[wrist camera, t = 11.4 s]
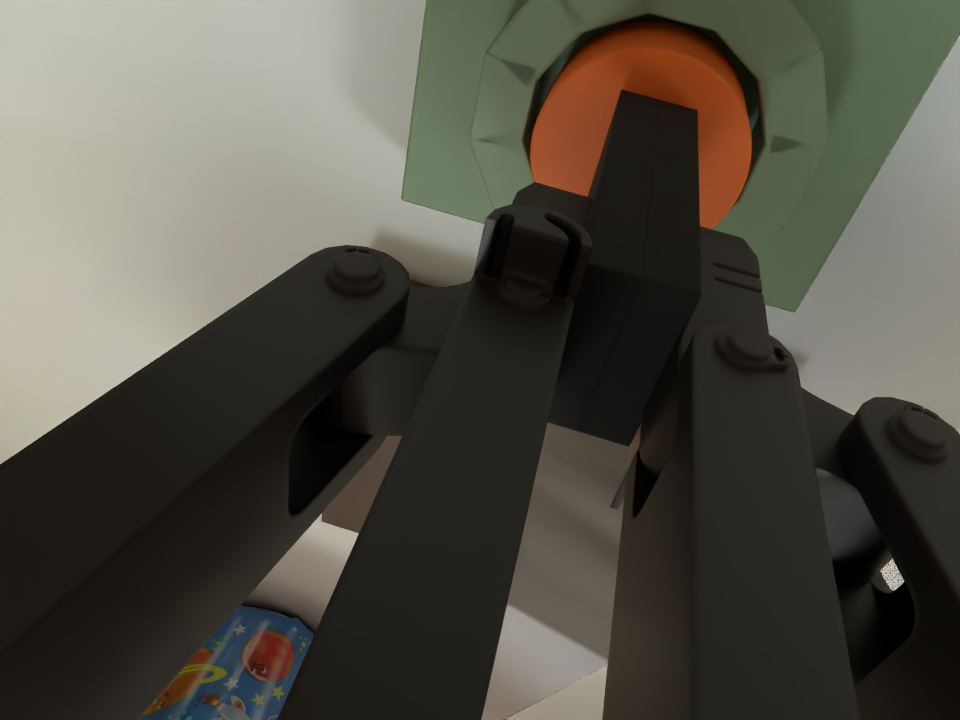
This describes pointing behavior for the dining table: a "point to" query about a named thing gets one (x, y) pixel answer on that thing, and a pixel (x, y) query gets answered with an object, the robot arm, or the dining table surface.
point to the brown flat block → (379, 482)
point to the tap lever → (561, 574)
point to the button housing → (767, 89)
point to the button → (654, 73)
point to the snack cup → (238, 670)
